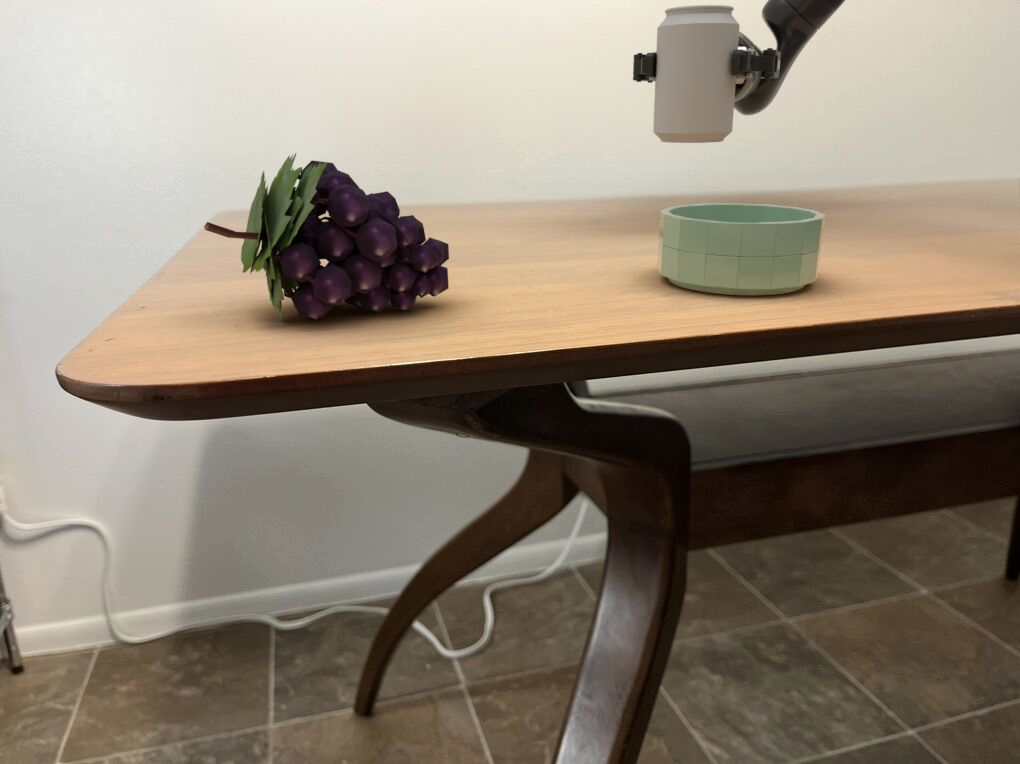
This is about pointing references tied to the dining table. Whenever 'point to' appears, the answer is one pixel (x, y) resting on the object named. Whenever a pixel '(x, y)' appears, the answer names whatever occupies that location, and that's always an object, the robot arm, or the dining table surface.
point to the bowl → (740, 247)
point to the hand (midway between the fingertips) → (692, 63)
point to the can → (695, 74)
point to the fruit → (336, 244)
